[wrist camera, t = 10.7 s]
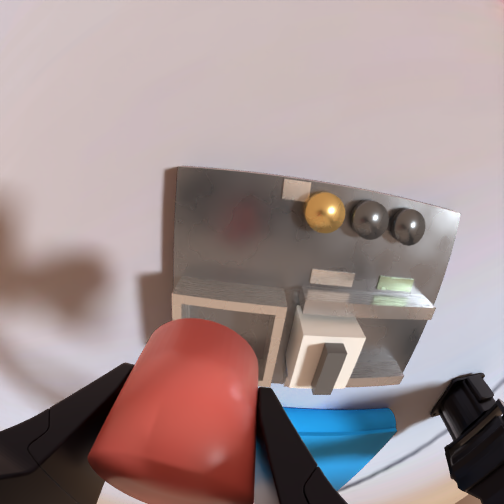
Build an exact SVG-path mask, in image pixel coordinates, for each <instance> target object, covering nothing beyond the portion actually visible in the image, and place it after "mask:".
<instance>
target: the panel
mask: <svg viewBox="0 0 504 504" xmlns="http://www.w3.org/2000/svg"><path fill="white" fill-rule="evenodd" d="M460 215H461V214H460V213H458V212H455V211H453V210H449V209H446V208H442V207H438V206H435V205H431V204H427V203H423V202H419V201H415V200H411V199H407V198H402V197H398V196H394V195H389V194H385V193H380V192H375V191H370V190H366V189H361V188H355V187H350V186H345V185H339V184H334V183H328V182H322V181H316V180H309V179H303V178H296V177H289V176H282V175H274V174H266V173H258V172H249V171H240V170H230V169H219V168H207V167H193V166H179V167H178V172H177V185H176V202H175V223H174V264H173V292H172V321H173V320H177V319H184V318H197V319H204V320H209V321H213V322H216V323H219V324H221V325H224V326H226V327H228V328H230V329H232V330H233V331H235V332H236V333H238V334H239V335H240V336H241V337H243V338H244V339H245V340H246V341H247V342H248V344H249V345H250V346H251V347H252V349H253V350H254V352H255V354H256V357H257V360H258V367H259V371H258V386H262V387H270V385H271V383H280V384H284V386H287V387H289V384H288V374H287V365H286V356H285V355H286V351H287V347H288V342H289V338H290V334H291V329H292V325H293V320H294V316H295V311H296V307H297V305H300V306H301V310H302V314H309V315H322V316H337V317H354V318H356V320H357V321H358V323H359V325H360V327H361V329H362V331H363V333H364V335H365V337H366V339H365V342H364V345H363V347H362V350H361V352H360V355H359V357H358V359H357V362H356V364H355V367H354V369H353V371H352V374H351V376H350V378H349V380H348V383H347V385H346V387H368V386H384V385H396V384H400V382H401V380H402V379H403V377H404V375H403V371H404V369H405V367H406V365H407V364H408V362H409V360H410V358H411V356H412V354H413V351H414V349H415V347H416V345H417V343H418V341H419V339H420V337H421V334H422V332H423V330H424V327H425V325H426V323H427V320H431V319H432V316H433V314H434V311H435V309H436V308H435V307H434V303H435V300H436V298H437V295H438V292H439V289H440V286H441V284H442V281H443V278H444V275H445V272H446V268H447V265H448V262H449V259H450V255H451V252H452V248H453V244H454V241H455V237H456V233H457V229H458V224H459V220H460Z"/></svg>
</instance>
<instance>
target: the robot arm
mask: <svg viewBox="0 0 504 504" xmlns="http://www.w3.org/2000/svg"><path fill="white" fill-rule="evenodd" d="M133 367H134V365H133V364H129V363H123V364H121V365H119V366H118V367H116V368H115V369H113V370H111V371H110V372H108V373H107V374H105V375H103V376H102V377H100V378H98V379H97V380H95V381H94V382H92V383H90V384H89V385H87V386H85V387H84V388H82V389H80V390H79V391H77V392H75V393H74V394H72V395H70V396H69V397H67V398H65V399H64V400H62V401H60V402H59V403H57V404H55V405H54V406H52V407H50V409H47V410H45V411H43V412H42V413H40V414H38V415H36V416H34V417H32V418H30V419H28V420H26V421H24V422H22V423H20V424H17V425H15V426H13V427H10V428H8V429H5V430H3V431H0V504H96V503H97V501H98V498H99V495H100V493H101V490H102V487H103V485H104V482H105V480H104V479H102V478H101V477H100V476H99V475H98V474H97V473H96V472H95V471H94V470H93V469H92V467H91V466H90V464H89V462H88V455H89V453H90V450H91V448H92V446H93V444H94V442H95V440H96V438H97V436H98V434H99V432H100V430H101V428H102V426H103V424H104V422H105V420H106V418H107V416H108V414H109V412H110V410H111V408H112V407H113V405H114V403H115V401H116V399H117V397H118V395H119V393H120V391H121V389H122V388H123V386H124V384H125V382H126V380H127V378H128V376H129V375H130V373H131V371H132V369H133ZM484 377H485V375H484V374H483V373H480V374H476V375H471V376H467V377H462V378H456V379H454V380H453V381H452V382H451V384H450V385H449V387H448V388H447V390H446V391H445V393H444V394H443V396H442V397H441V399H440V400H439V402H438V403H437V405H436V406H435V407H434V409H433V410H432V412H431V413H430V415H431V417H434V416H438V415H440V416H441V418H442V420H443V422H444V423H445V425H446V427H447V429H448V431H449V433H450V435H451V437H452V439H453V442H452V443H450V444H449V445H447V446H446V447H444V449H445V455H446V459H447V463H448V467H449V471H450V477H451V479H454V480H455V481H456V482H457V485H458V488H459V489H460V490H462V491H464V492H467V493H468V494H471V495H472V496H475V497H476V498H478V499H480V500H481V503H482V504H504V402H503V401H501V400H500V399H498V400H497V401H495V400H494V399H493V396H494V393H493V392H492V391H491V389H490V388H489V386H488V385H487V384H486V382H485V381H484V380H483V378H484ZM502 414H503V416H501V415H502ZM317 466H318V464H317V463H316V461H315V459H314V458H313V456H312V455H311V453H310V452H309V450H308V448H307V447H306V445H305V443H304V442H303V440H302V439H301V437H300V435H299V434H298V432H297V430H296V429H295V427H294V425H293V424H292V422H291V420H290V419H289V417H288V415H287V414H286V412H285V410H284V409H283V407H282V405H281V403H280V402H279V400H278V398H277V397H276V395H275V393H274V391H273V390H272V389H271V388H266V387H259V388H258V402H257V433H256V460H255V485H254V504H348V503H347V502H346V501H345V500H344V499H343V498H342V497H341V496H340V494H339V493H338V492H337V491H336V490H335V489H334V487H333V486H332V485H331V483H330V482H329V481H328V479H327V478H326V476H325V475H324V473H323V472H322V470H321V469H320V467H319V466H318V467H317Z"/></svg>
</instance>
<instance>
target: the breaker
mask: <svg viewBox="0 0 504 504" xmlns="http://www.w3.org/2000/svg"><path fill="white" fill-rule="evenodd" d="M365 339H366V337H365V335H364V333H363V331H362V329H361V327H360V325H359V323H358V321H357V320H356V318H354V317H337V316H322V315H309V314H302V310H301V306H300V305H297V307H296V311H295V316H294V320H293V325H292V329H291V334H290V338H289V342H288V347H287V351H286V355H285V356H286V365H287V374H288V384H289V388H312V393H313V395H331V392H332V390H333V389H341V388H345V387H346V385H347V383H348V380H349V378H350V376H351V374H352V371H353V369H354V367H355V364H356V362H357V359H358V357H359V355H360V352H361V350H362V347H363V345H364V342H365Z"/></svg>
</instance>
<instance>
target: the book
mask: <svg viewBox="0 0 504 504" xmlns="http://www.w3.org/2000/svg"><path fill="white" fill-rule="evenodd" d="M283 409H284V410H285V412H286V414H287V415H288V417H289V419H290V420H291V422H292V424H293V425H294V427H295V429H296V430H297V432H298V434H299V435H300V437H301V439H302V440H303V442H304V443H305V445H306V447H307V448H308V450H309V452H310V453H311V455H312V456H313V458H314V459H315V461H316V463H317V464H318V466H319V467H320V469H321V470H322V472H323V473H324V475H325V476H326V478H327V479H328V481H329V482H330V483H331V485H332V486H333V487H334V489H335V490H336V491H338V490H339V489H340V488H341V487H342V486H344V485H345V484H346V483H347V482H348V481H349V480H350V479H351V478H352V477H354V476H355V475H356V474H357V473H358V472H359V471H360V470H361V469H362V468H363V467H364V466H365V465H366V464H367V463H368V462H369V461H370V460H371V459H372V458H373V457H374V456H375V455H376V454H377V453H378V452H379V451H380V450H381V449H382V448H383V447H384V445H385V444H386V443H387V442H388V441H389V440H390V439H391V438H392V436H393V435H394V434H395V433H396V432H397V429H396V420H395V416H394V414H393V412H392V411H391V410H390V409H389V408H382V409H357V410H327V409H301V408H287V407H283ZM318 466H317V467H318Z"/></svg>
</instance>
